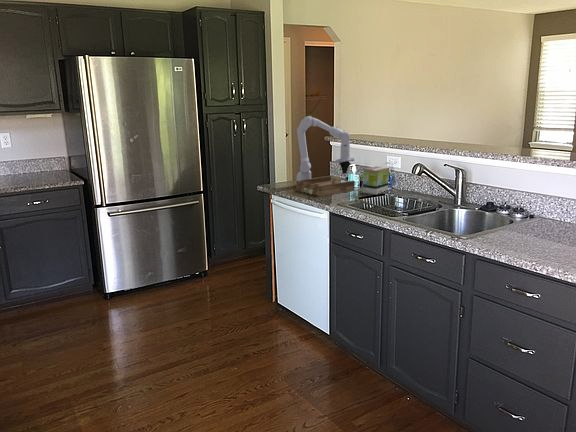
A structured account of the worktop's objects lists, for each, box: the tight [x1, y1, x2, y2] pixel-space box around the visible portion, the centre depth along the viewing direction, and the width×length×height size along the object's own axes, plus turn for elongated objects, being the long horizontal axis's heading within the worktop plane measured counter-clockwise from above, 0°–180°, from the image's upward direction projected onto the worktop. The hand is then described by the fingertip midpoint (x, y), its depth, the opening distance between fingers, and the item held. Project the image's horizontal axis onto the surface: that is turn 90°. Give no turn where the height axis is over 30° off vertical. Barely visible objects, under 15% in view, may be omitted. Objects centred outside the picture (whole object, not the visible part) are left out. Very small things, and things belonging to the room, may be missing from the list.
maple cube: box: [331, 176, 342, 184], centre depth 320 cm, size 4×4×4 cm
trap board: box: [296, 175, 356, 197], centre depth 315 cm, size 22×28×6 cm
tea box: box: [362, 165, 390, 195], centre depth 309 cm, size 15×10×15 cm, turn 143°
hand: (344, 173), depth 323 cm, fingers closed
